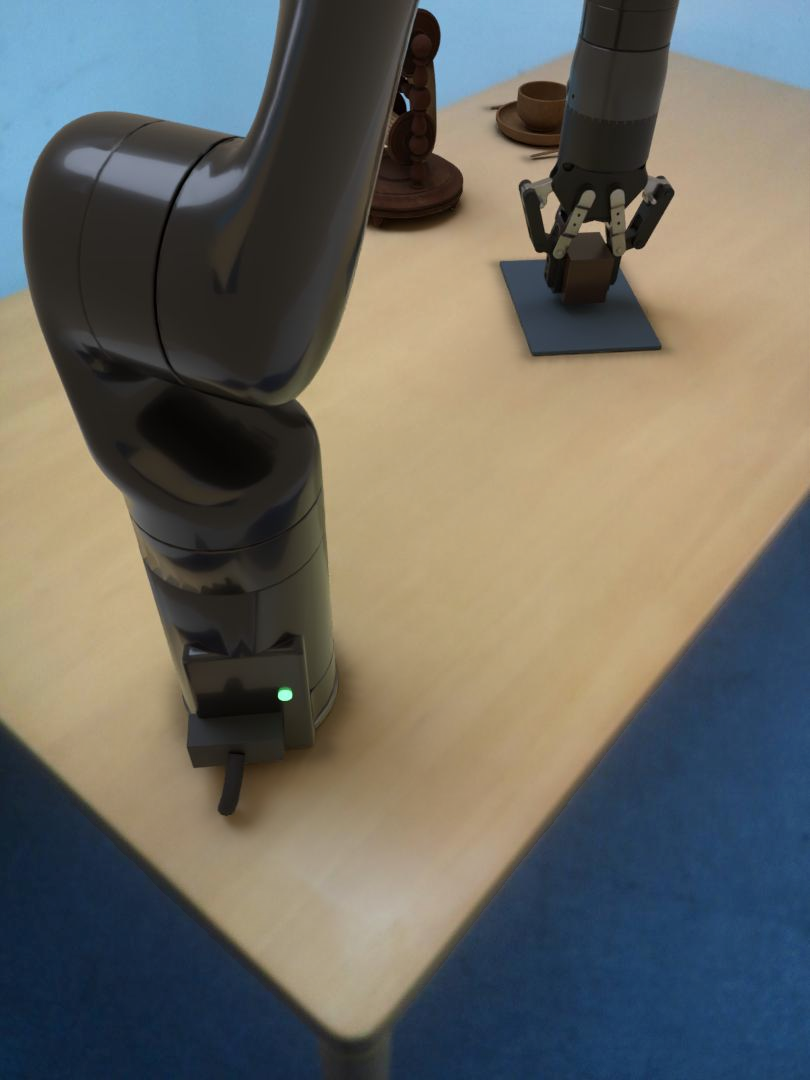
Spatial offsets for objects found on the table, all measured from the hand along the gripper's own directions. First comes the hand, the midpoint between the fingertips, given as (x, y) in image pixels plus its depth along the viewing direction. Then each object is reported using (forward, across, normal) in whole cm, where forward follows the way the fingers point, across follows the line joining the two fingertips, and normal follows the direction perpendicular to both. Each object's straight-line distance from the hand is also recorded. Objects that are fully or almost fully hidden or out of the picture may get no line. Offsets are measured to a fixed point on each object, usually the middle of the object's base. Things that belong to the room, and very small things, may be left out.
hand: (578, 287), depth 83 cm
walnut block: (0, 0, 0) cm, 0 cm away
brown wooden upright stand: (+2, -15, +23) cm, 28 cm away
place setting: (+2, +10, +42) cm, 43 cm away
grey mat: (+2, 0, 0) cm, 2 cm away
